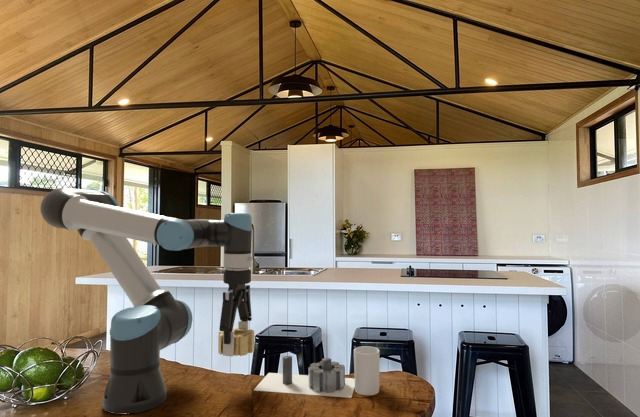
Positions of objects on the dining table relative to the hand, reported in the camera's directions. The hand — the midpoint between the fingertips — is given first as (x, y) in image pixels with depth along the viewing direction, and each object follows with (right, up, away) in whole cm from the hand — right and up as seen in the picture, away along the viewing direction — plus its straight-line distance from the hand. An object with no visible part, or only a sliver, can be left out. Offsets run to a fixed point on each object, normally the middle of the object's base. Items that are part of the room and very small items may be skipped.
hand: (236, 349), depth 119 cm
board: (+20, -10, -2) cm, 22 cm away
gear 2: (+25, -9, -3) cm, 27 cm away
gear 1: (0, 0, 0) cm, 0 cm away
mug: (+36, -10, -4) cm, 38 cm away
